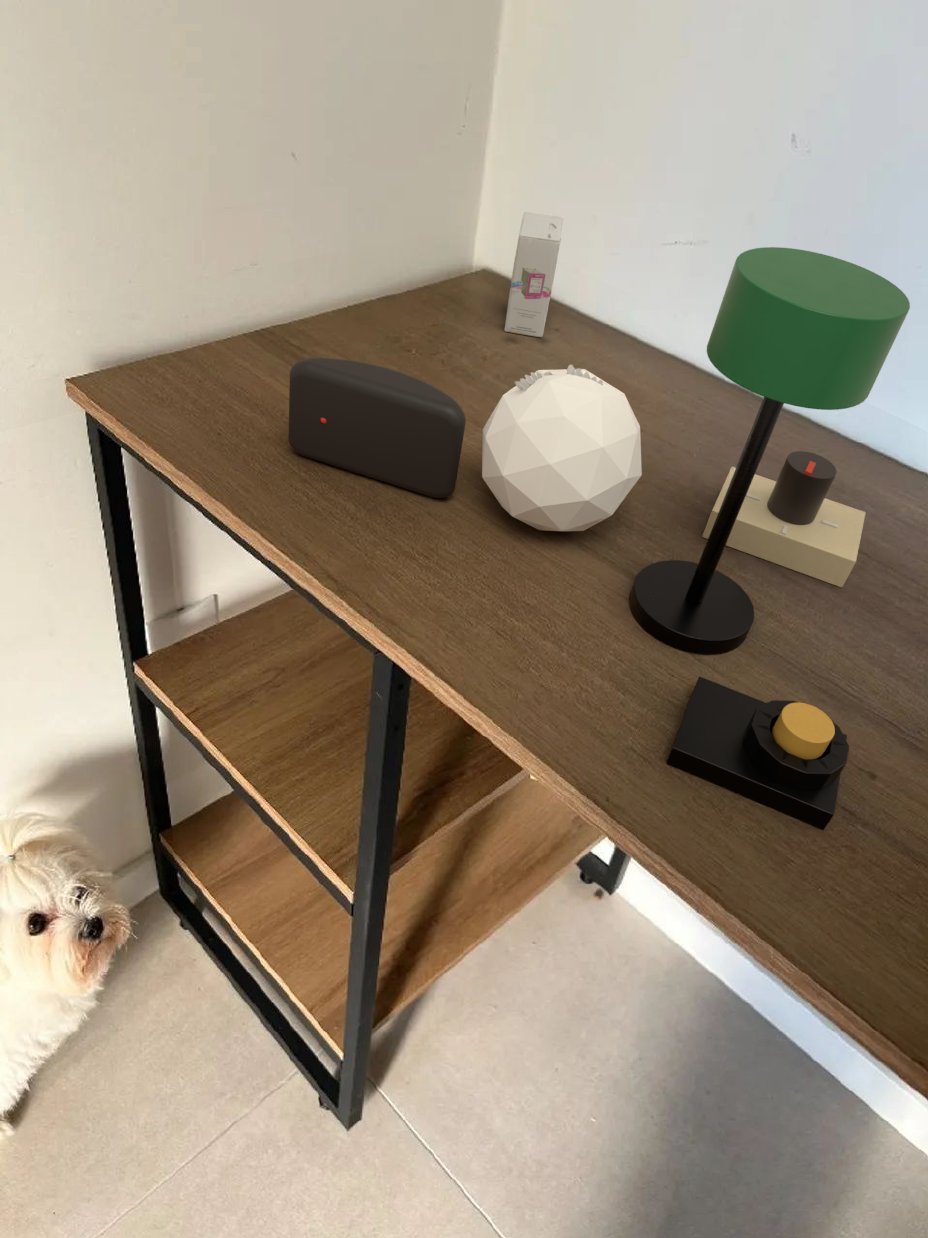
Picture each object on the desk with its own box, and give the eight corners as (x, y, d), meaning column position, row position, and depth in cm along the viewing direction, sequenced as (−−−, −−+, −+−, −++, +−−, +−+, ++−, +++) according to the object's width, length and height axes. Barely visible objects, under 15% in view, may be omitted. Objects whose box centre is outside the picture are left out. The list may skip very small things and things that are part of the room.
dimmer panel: (852, 537, 89) (866, 510, 87) (842, 588, 83) (857, 560, 81) (721, 491, 92) (732, 464, 90) (701, 536, 85) (712, 508, 83)
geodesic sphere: (455, 509, 73) (592, 379, 67) (421, 414, 83) (538, 295, 78) (572, 592, 82) (701, 483, 76) (529, 497, 92) (640, 396, 87)
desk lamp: (764, 600, 80) (915, 279, 61) (740, 678, 72) (904, 337, 53) (643, 555, 82) (753, 233, 64) (606, 625, 74) (719, 281, 56)
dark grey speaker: (465, 482, 87) (481, 391, 80) (448, 507, 83) (463, 414, 77) (306, 432, 89) (310, 340, 83) (284, 455, 86) (286, 360, 79)
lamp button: (827, 732, 64) (838, 715, 63) (821, 767, 62) (831, 750, 60) (776, 712, 65) (786, 694, 64) (768, 746, 62) (777, 728, 61)
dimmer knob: (773, 491, 87) (794, 442, 84) (818, 508, 86) (842, 459, 83) (762, 512, 84) (783, 463, 81) (809, 531, 83) (833, 481, 80)
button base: (837, 750, 67) (858, 718, 65) (823, 830, 62) (845, 798, 59) (692, 691, 70) (706, 658, 68) (665, 763, 64) (680, 730, 62)
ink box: (506, 303, 119) (523, 208, 111) (545, 310, 119) (564, 215, 111) (501, 331, 112) (519, 232, 105) (542, 338, 112) (563, 240, 105)
